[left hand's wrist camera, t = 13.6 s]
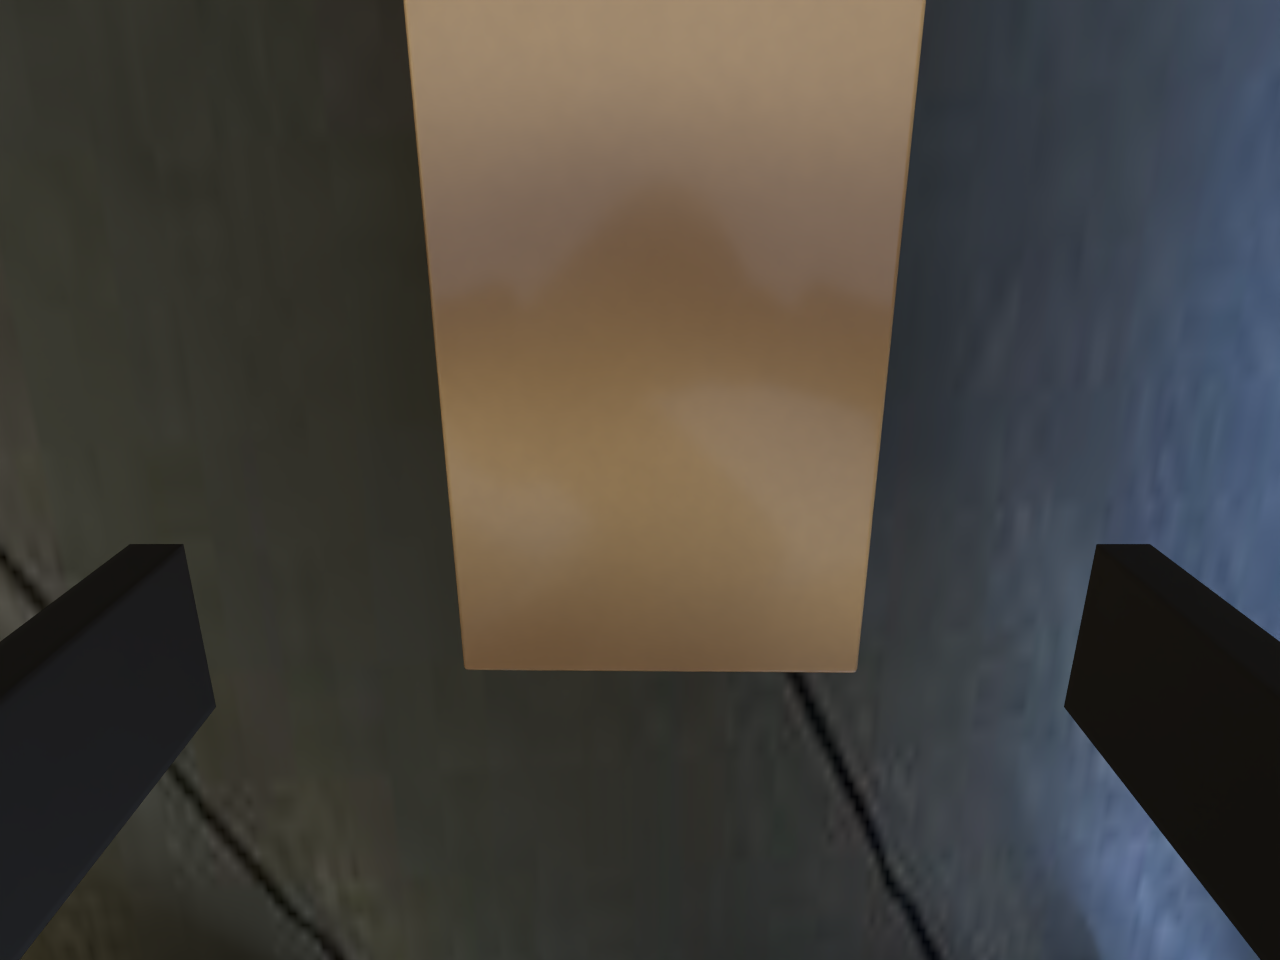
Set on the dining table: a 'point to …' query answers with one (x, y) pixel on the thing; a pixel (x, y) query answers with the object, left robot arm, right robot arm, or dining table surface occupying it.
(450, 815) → the dining table surface
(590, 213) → the box
